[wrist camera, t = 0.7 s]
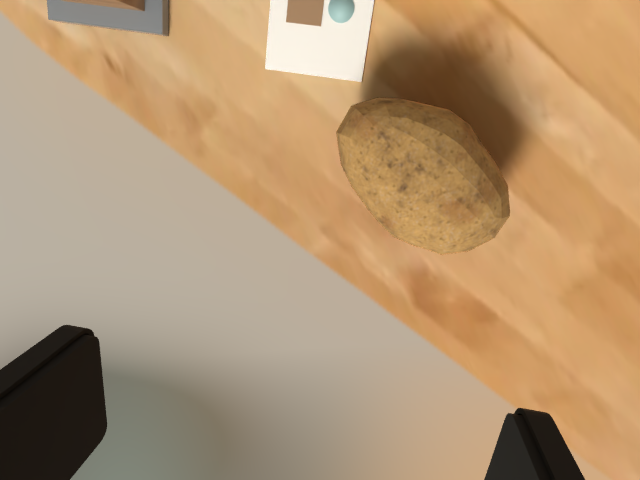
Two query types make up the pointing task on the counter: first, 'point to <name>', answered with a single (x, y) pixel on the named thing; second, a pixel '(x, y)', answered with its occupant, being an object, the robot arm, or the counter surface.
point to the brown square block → (115, 3)
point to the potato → (423, 174)
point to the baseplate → (113, 16)
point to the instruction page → (319, 37)
